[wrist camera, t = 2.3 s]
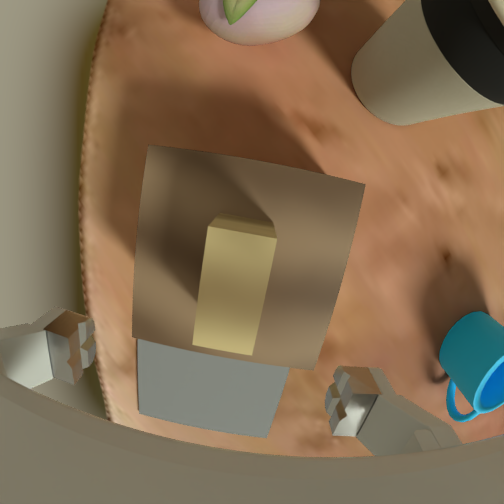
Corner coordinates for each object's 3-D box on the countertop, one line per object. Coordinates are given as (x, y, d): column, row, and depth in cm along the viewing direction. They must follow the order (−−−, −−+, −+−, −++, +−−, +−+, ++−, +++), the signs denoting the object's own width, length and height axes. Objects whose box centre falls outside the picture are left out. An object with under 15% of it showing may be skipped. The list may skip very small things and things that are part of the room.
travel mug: (433, 131, 23) (599, 120, 5) (351, 120, 23) (501, 56, 6) (427, 52, 21) (561, -18, 3) (347, 35, 21) (445, -93, 4)
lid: (154, 145, 17) (118, 139, 12) (360, 183, 18) (393, 189, 13) (137, 330, 20) (109, 370, 16) (311, 362, 21) (322, 409, 16)
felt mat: (139, 300, 28) (138, 301, 27) (300, 330, 28) (300, 332, 28) (140, 411, 31) (139, 413, 31) (266, 436, 32) (266, 438, 32)
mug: (456, 307, 27) (500, 344, 19) (501, 314, 27) (541, 345, 20) (414, 397, 30) (440, 443, 22) (460, 395, 31) (488, 434, 23)
